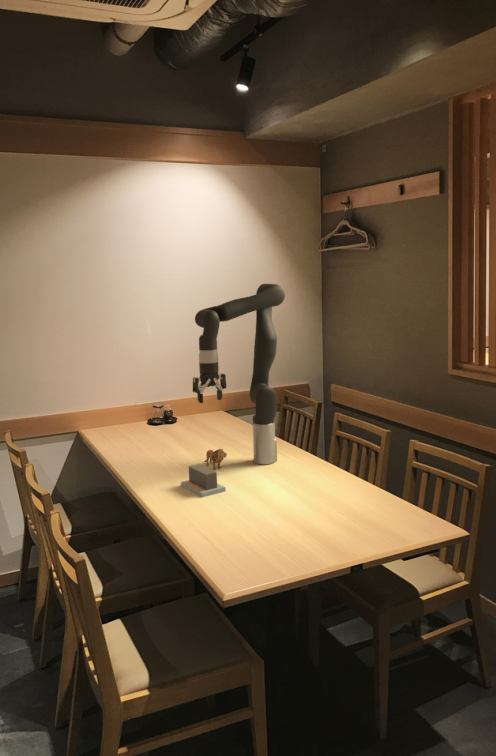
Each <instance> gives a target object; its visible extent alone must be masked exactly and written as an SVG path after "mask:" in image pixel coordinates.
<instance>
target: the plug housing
mask: <svg viewBox="0 0 496 756" xmlns="http://www.w3.org/2000/svg"><path fill="white" fill-rule="evenodd" d="M217 473H218V472H217V471H216V470H213V469H211V468H209V467H208V466H205V465H202V464H200V463H197V464H192V465H189V466H188V480H189V482H191V483H193V484H195V485H197V486H199V487H201V488H203V489H205V490H210V489H214V488H217V483H218V474H217Z"/></svg>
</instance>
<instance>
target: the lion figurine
mask: <svg viewBox="0 0 496 756" xmlns="http://www.w3.org/2000/svg"><path fill="white" fill-rule="evenodd" d="M227 456H228V453H227V452H225V451H224V449H223V448H219V449H216V450H213V449H208V450H207V451H206V456H205V457H206V459H205V460H204V461H203V462H204V463H206V466H205V467H210V465H209V464H212V466H213V468H212V470H213V471H216V470H217V468H218V469H219V470H220V469H221V468H222V467H221V465H220V464H221V463H222V461H224V460H225V459H226V458H227ZM216 464H217V467H216Z"/></svg>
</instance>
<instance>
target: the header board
mask: <svg viewBox="0 0 496 756" xmlns="http://www.w3.org/2000/svg"><path fill="white" fill-rule="evenodd" d="M180 486H181V487H183V488H185V489H187V490H189V491H190V492H192V493H194V494H196V495H198V496H199V497H202V498H204V497H208V496H212V495H215V494H219V493H224V492H226V487H225V486H223V485H221V484H220V483H218V482H217V488H214V489H210V490H205V489H203V488H201V487H199V486H197V485H195V484H193V483H191V482H189V479H187V480H183V481H180Z"/></svg>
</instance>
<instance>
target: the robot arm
mask: <svg viewBox="0 0 496 756" xmlns="http://www.w3.org/2000/svg"><path fill="white" fill-rule="evenodd" d="M285 298H286V292H285V289H284V287H282V286H281V285H279V284H276V283H262V284H260V285H259V286H258V288H257V289H256V294H254V295H253V294H252V295H249V296H245V297H241V298H240V297H239V298H236V299H231V300H230V301H226V302H224V303H221V304H219V305H215V306H210V307H206V308H203V309H200V310H198V311H197V312H196V314H195V316H194V322H195V324H196V326H198V327H199V328H200V327H201V328H203V329H202V331H203V332H202V334H201V335H200V336H199V338H198V348H199V349H198V350H199V352H198V364H199V366H198V367H199V368H198V369H199V377H198V376H197V377H196V376H193V377H192V393H196V394H197V402H198V403H199V404H203V403H204V394H203V392H205V390H206V389H207V388H210V387H215V388H216V398H217V400H218V401H222V399H223V391H224V389H227V379H226V377H227V376H226V373H219V371H220V370H219V369H220V368H219V353H218V335H219V329H220V324H221V323H220V322H222V323H223V322H229V321H231V320H233V319H236V318H239V317H242V316H244V315H247V314H249V313H252V312H255V313H256V315H255V316H256V319H255V337H254V347H253V364H252V365H253V367H252V368H253V369H252V377H251V381H250V388H249V398H250V401H251V402H252V403H253V404H254V405H255V413H254V415H253V416H252V444H253V445H252V446H253V448H252V449H253V450H252V451H253V463H254V464H257V465H270V464H274V463H275V462H277V461H278V445H277V444H278V440H277V439H276V435H275V434H276V433H275V432H276V431H275V429H276V428H275V419H276V415H277V394H276V391H275V389H274V388H272V387H271V386H269V381H270V380H269V377H270V371H271V368H272V366H273V364H274V360H275V358H276V355H277V344H278V343H277V342H278V338H277V332H276V330H275V327H274V324H273V319H272V315H273V314H272V312H273V308H275V307H278V306H280V305H281V304H283V302H284V300H285Z"/></svg>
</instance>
